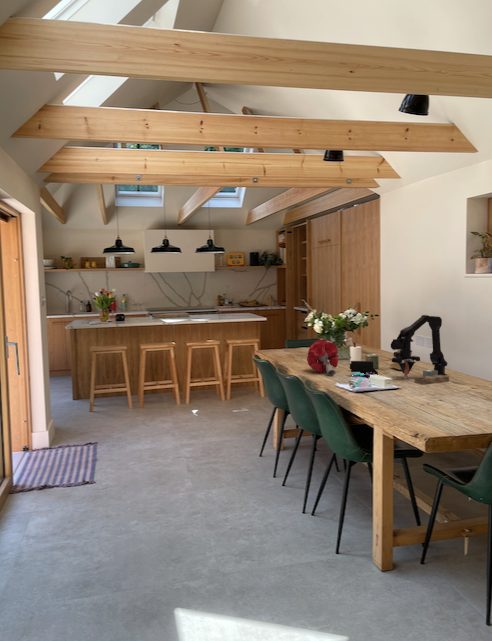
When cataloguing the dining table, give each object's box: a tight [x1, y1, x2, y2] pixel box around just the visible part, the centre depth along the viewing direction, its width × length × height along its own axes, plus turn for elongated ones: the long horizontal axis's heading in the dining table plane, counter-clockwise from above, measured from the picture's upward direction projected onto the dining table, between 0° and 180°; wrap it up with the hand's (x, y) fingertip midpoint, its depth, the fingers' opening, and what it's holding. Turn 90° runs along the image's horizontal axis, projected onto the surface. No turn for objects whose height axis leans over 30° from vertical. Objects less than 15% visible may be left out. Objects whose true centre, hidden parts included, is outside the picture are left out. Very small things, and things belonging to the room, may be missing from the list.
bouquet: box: [306, 339, 339, 377], centre depth 357 cm, size 22×24×30 cm
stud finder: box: [422, 369, 438, 377], centre depth 331 cm, size 8×4×5 cm, turn 107°
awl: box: [402, 364, 410, 380], centre depth 331 cm, size 4×4×9 cm
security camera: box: [349, 360, 379, 375], centre depth 342 cm, size 7×18×10 cm, turn 78°
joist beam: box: [413, 375, 450, 385], centre depth 320 cm, size 21×7×3 cm, turn 111°
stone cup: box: [389, 349, 413, 371], centre depth 363 cm, size 15×12×15 cm
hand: (405, 372), depth 331 cm, fingers closed on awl, 4 cm apart
